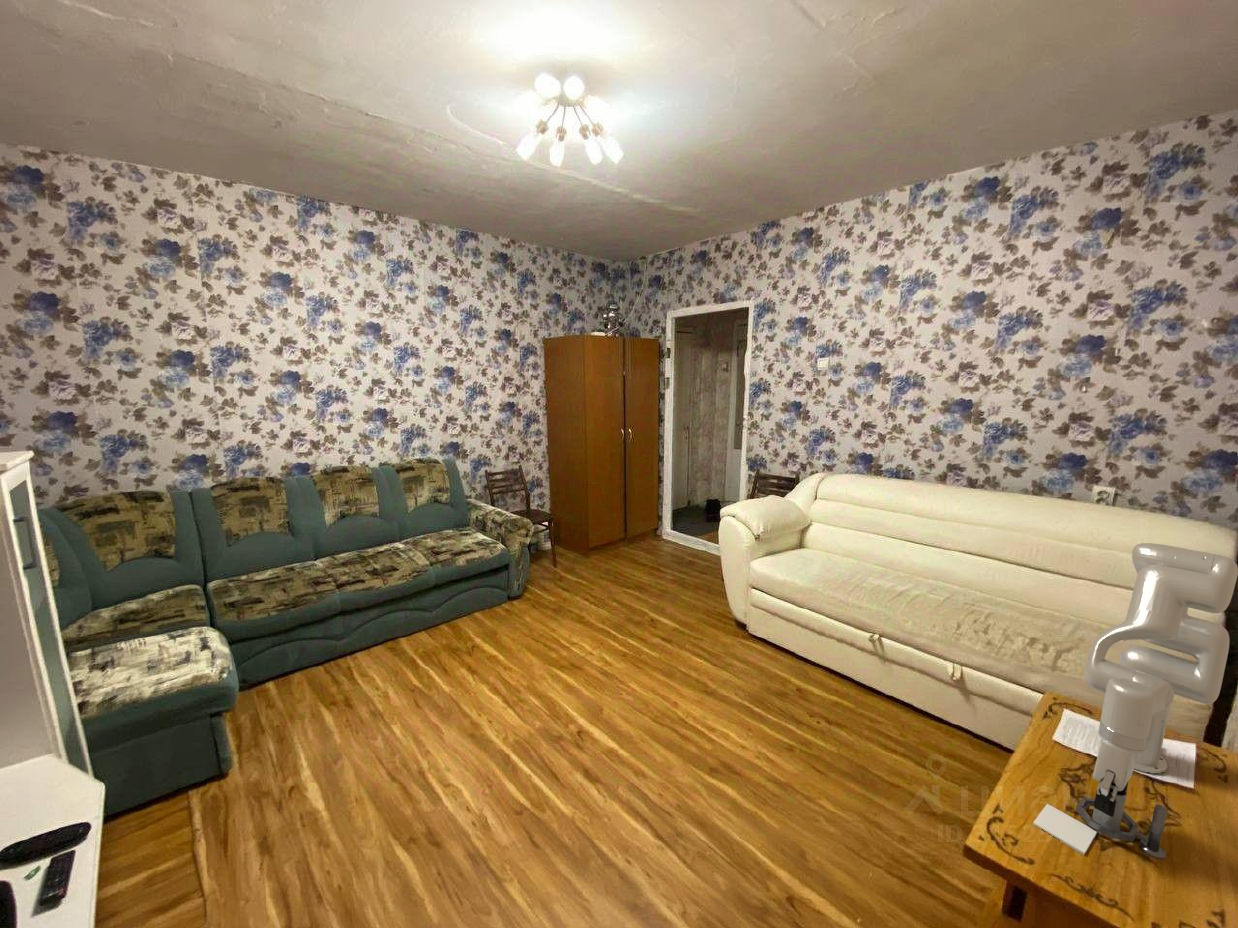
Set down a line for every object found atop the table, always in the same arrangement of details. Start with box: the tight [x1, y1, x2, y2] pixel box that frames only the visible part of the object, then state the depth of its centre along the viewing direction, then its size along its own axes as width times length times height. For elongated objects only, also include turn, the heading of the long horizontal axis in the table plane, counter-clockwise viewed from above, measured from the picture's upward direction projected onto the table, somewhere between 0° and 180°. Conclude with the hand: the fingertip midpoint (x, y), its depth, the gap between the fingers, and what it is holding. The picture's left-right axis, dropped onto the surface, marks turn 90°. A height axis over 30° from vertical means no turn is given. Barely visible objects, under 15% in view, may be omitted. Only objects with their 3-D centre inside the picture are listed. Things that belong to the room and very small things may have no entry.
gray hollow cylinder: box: [1091, 780, 1128, 831], centre depth 113 cm, size 4×4×10 cm
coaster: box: [1032, 803, 1098, 856], centre depth 113 cm, size 9×9×1 cm
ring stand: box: [1076, 796, 1168, 860], centre depth 111 cm, size 10×14×11 cm
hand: (1109, 801), depth 113 cm, fingers open, 9 cm apart
